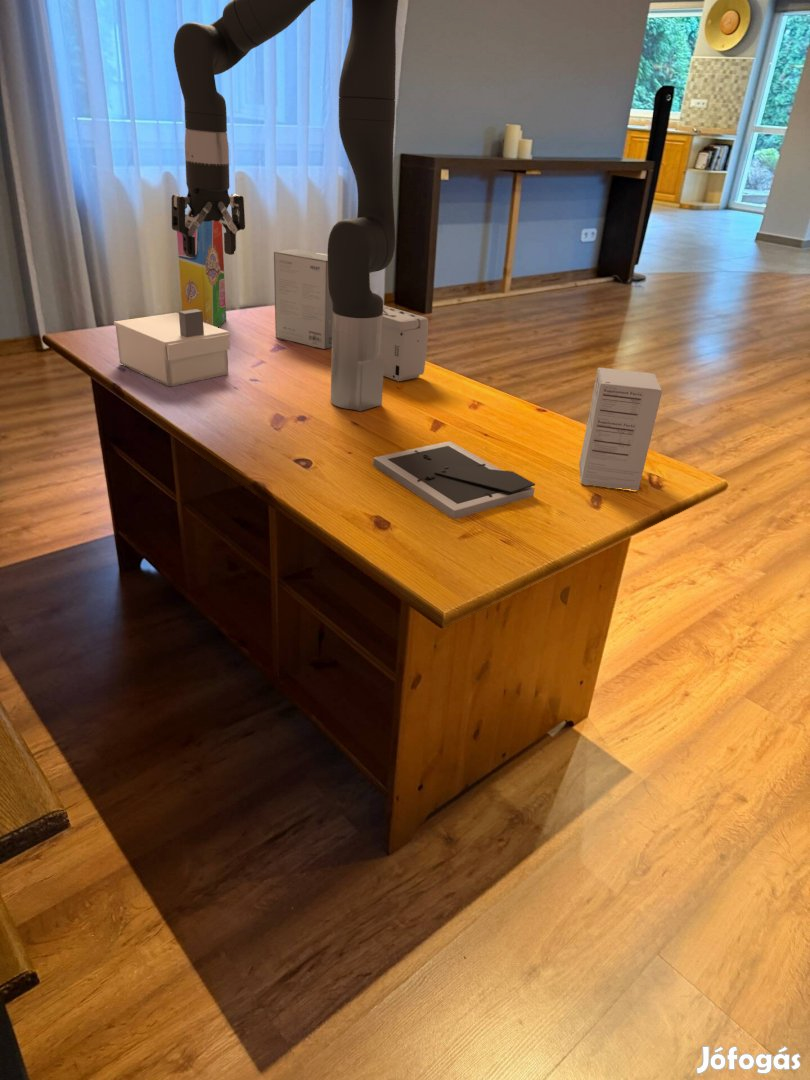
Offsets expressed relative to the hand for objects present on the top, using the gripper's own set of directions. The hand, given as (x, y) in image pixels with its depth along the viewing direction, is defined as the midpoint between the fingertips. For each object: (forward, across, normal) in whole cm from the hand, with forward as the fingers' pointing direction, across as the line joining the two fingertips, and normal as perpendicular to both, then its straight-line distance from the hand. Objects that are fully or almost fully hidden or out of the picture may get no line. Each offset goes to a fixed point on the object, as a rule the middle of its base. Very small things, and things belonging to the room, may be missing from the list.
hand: (210, 255), depth 143 cm
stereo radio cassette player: (+24, +32, -15) cm, 43 cm away
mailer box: (+24, -3, +9) cm, 26 cm away
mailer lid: (+19, -3, +9) cm, 21 cm away
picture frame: (+23, +1, -63) cm, 67 cm away
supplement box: (+22, +22, -78) cm, 84 cm away
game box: (+25, +20, +33) cm, 46 cm away
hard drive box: (+24, +34, +11) cm, 44 cm away
